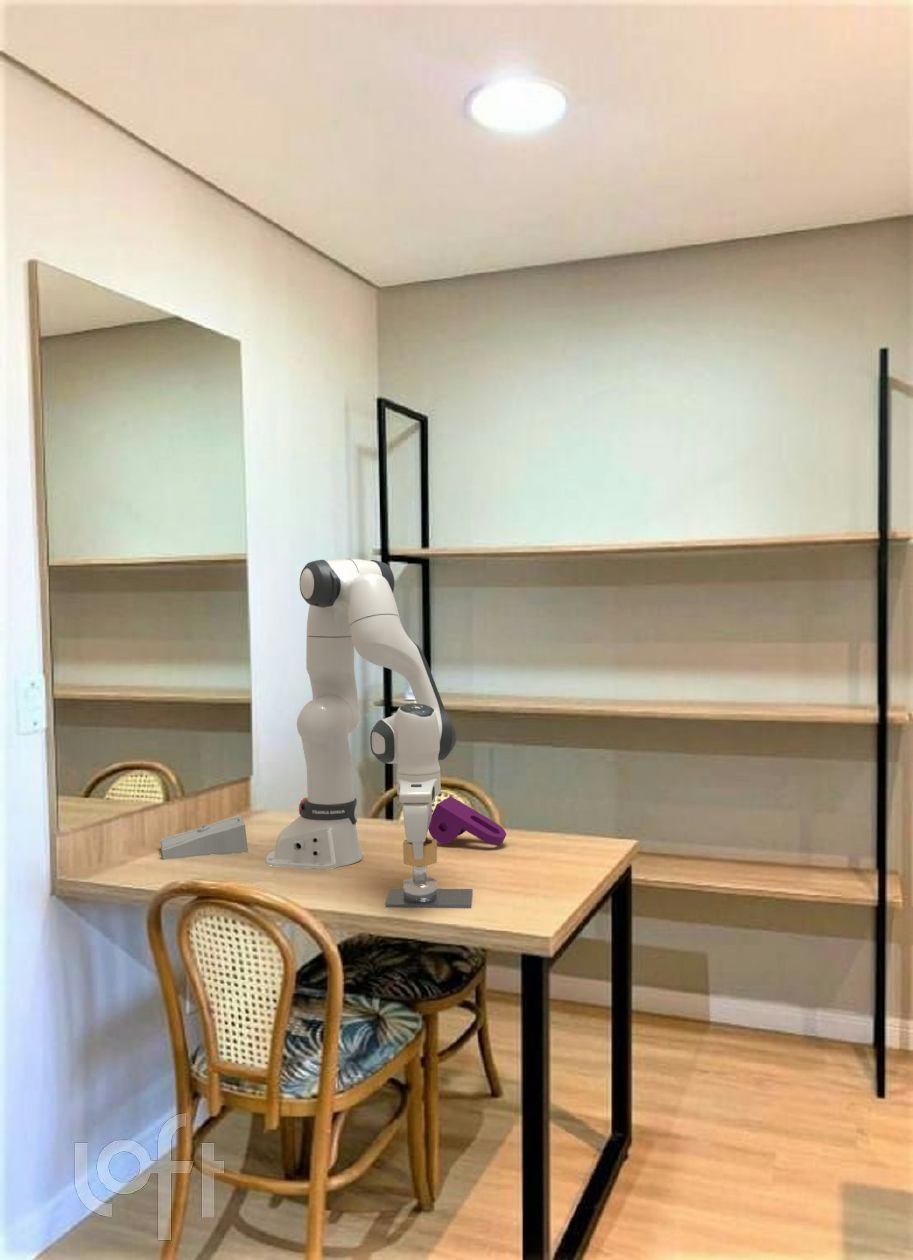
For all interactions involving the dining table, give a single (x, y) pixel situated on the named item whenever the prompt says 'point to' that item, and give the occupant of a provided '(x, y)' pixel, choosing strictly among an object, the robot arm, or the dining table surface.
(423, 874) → the base with metal peg
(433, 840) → the ring
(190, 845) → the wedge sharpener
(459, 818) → the mounting bracket
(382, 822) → the dining table surface
